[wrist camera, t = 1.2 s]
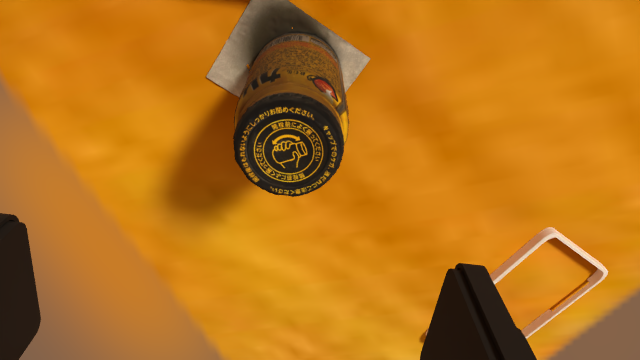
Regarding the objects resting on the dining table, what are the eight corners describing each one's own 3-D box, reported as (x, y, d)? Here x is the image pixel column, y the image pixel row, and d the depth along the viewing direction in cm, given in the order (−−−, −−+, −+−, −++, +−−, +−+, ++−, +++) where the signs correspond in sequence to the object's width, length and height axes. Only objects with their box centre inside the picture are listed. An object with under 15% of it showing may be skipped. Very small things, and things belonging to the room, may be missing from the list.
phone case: (545, 221, 40) (421, 329, 45) (553, 230, 38) (424, 341, 44) (603, 263, 42) (477, 362, 47) (611, 274, 41) (481, 374, 46)
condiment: (309, 140, 36) (307, 235, 25) (206, 76, 33) (155, 151, 23) (370, 57, 33) (396, 126, 22) (261, -19, 30) (233, 16, 20)
